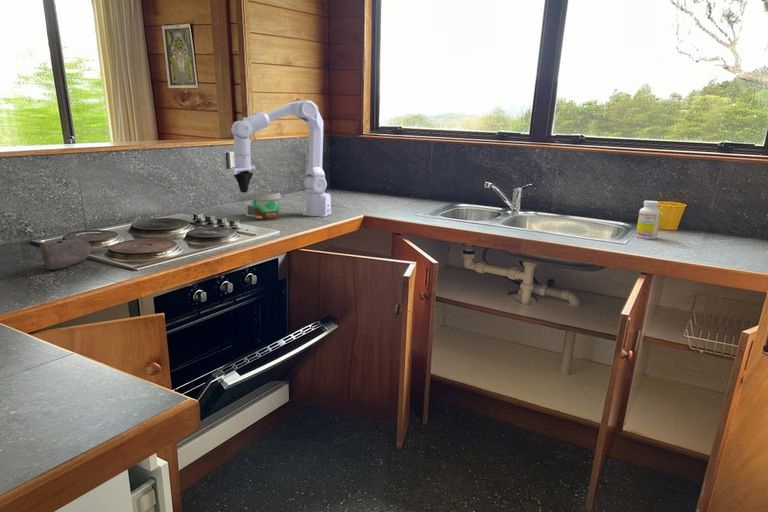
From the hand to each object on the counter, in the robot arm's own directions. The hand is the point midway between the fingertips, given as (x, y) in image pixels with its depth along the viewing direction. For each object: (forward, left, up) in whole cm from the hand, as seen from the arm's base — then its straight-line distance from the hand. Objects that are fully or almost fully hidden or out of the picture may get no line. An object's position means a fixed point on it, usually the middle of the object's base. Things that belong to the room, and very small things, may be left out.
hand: (244, 192), depth 194 cm
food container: (-8, -5, -11) cm, 14 cm away
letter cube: (+1, -9, -10) cm, 14 cm away
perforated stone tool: (+11, +69, -11) cm, 71 cm away
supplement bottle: (-143, -27, -11) cm, 146 cm away
